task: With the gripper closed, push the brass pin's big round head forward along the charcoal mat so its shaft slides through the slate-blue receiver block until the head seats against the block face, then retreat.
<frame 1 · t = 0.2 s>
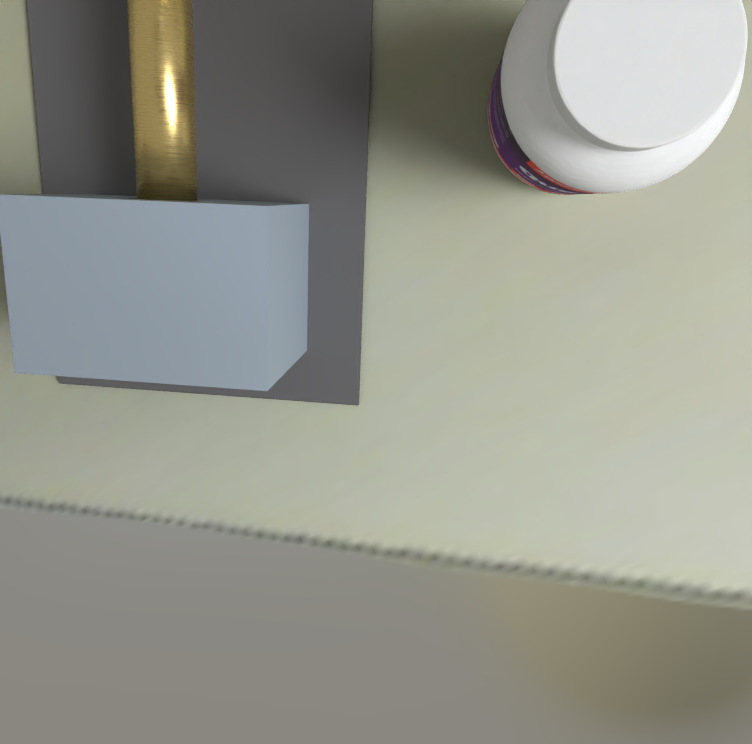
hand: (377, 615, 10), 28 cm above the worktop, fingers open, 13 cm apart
receiver: (203, 272, 38), resting on mat
mat: (200, 140, 36), on the worktop
pin: (163, 89, 31), point 5 cm above the worktop, slide at 0.0 cm
pill bottle: (568, 111, 34), on the worktop
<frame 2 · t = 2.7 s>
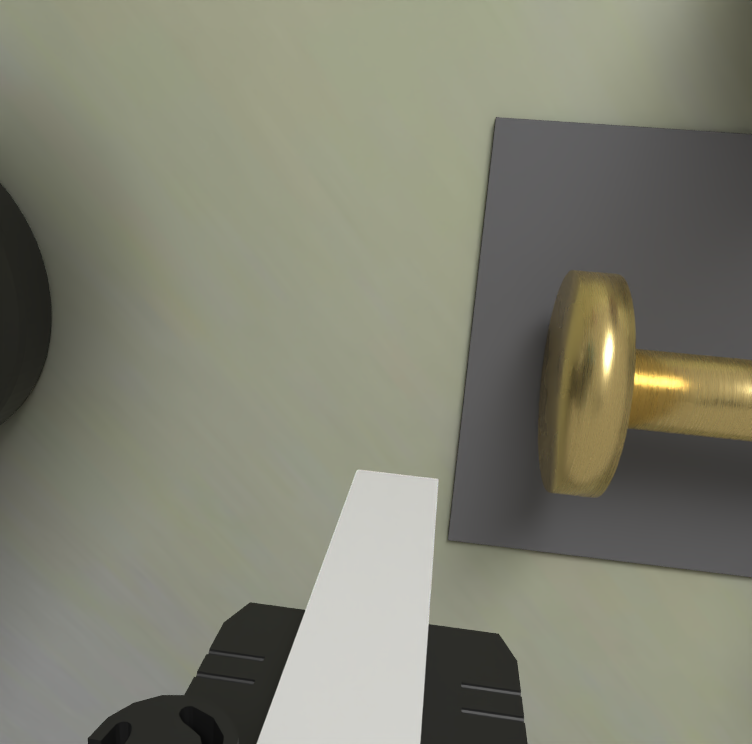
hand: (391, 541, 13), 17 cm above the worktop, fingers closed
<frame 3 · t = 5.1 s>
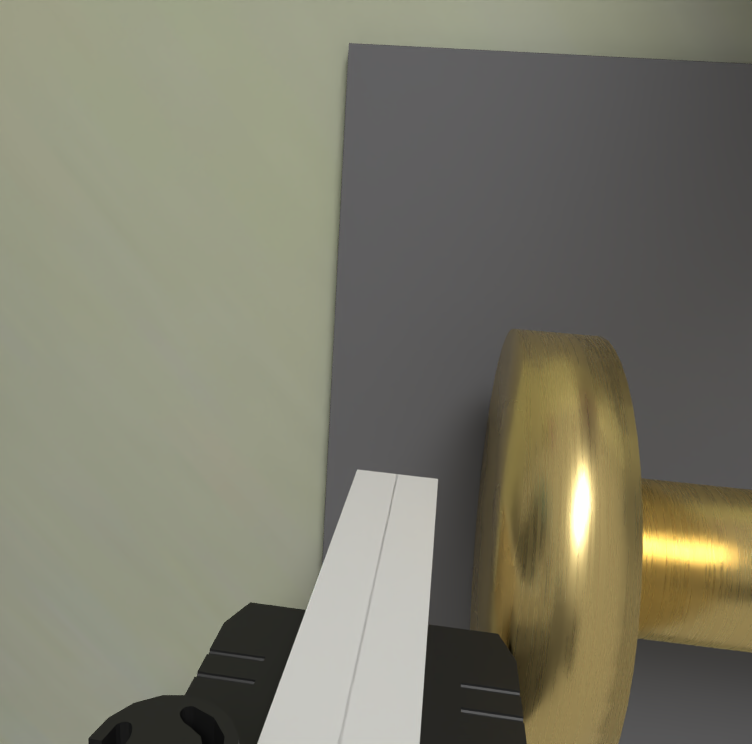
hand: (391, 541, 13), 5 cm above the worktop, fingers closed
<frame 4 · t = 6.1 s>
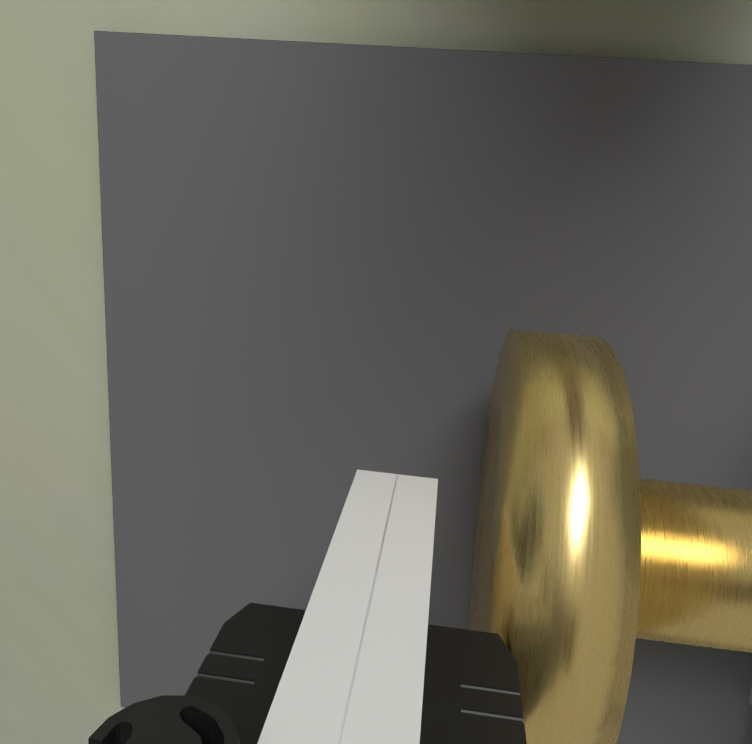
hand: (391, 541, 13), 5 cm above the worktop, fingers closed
mat: (667, 468, 16), on the worktop
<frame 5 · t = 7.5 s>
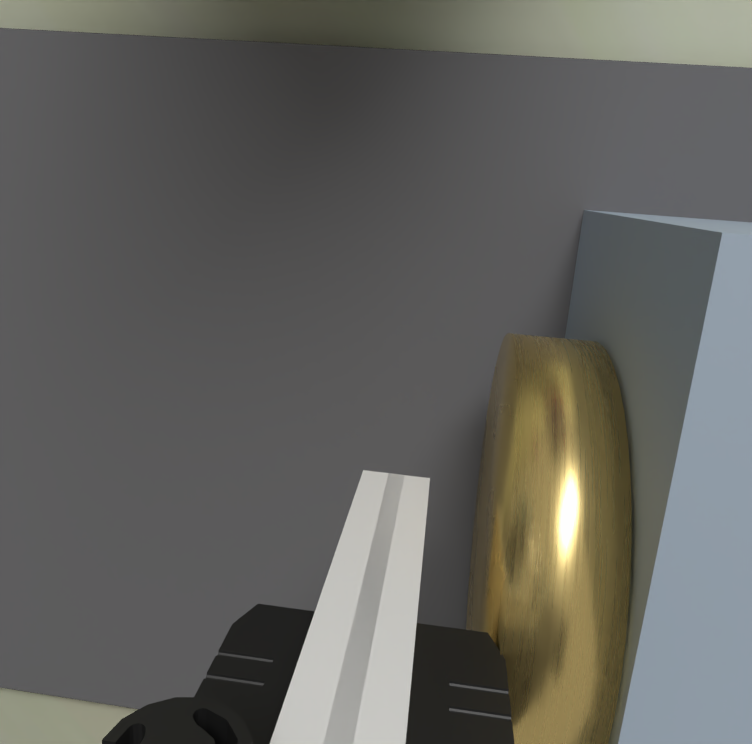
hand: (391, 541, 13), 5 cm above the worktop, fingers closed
receiver: (714, 479, 16), resting on mat
mat: (422, 446, 17), on the worktop
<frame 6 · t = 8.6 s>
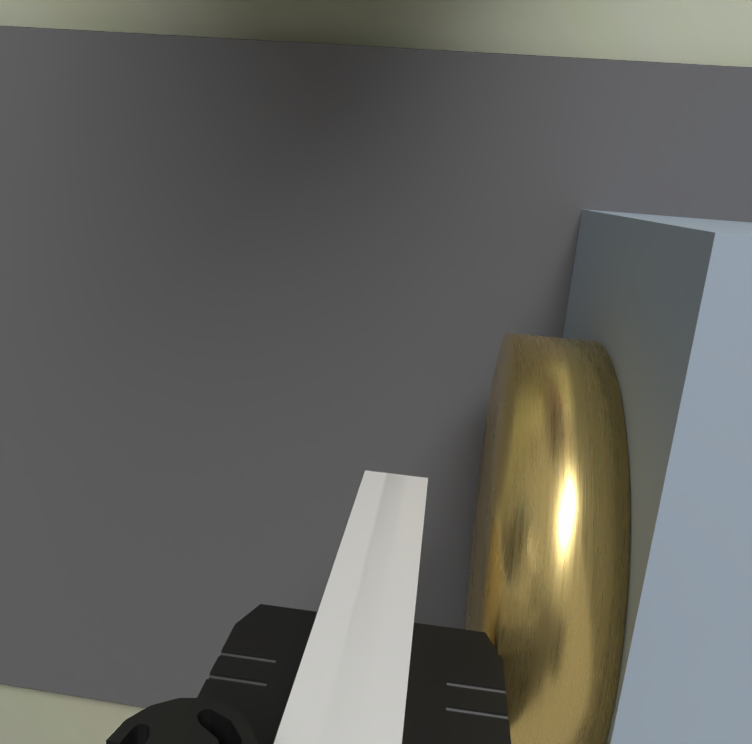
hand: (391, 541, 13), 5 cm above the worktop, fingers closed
receiver: (711, 479, 16), resting on mat
mat: (420, 445, 17), on the worktop
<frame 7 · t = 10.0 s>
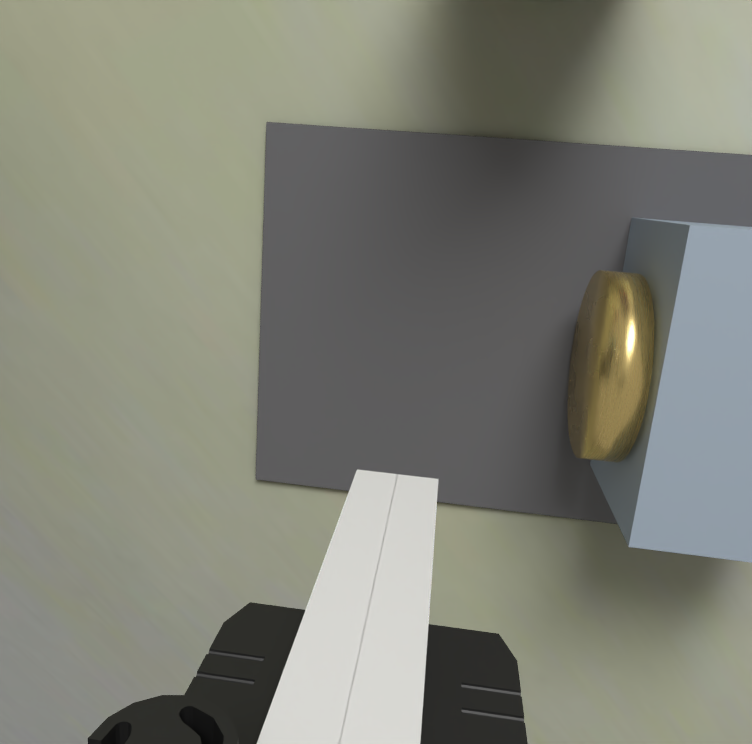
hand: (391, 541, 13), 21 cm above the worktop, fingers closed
receiver: (695, 354, 32), resting on mat
mat: (544, 339, 33), on the worktop
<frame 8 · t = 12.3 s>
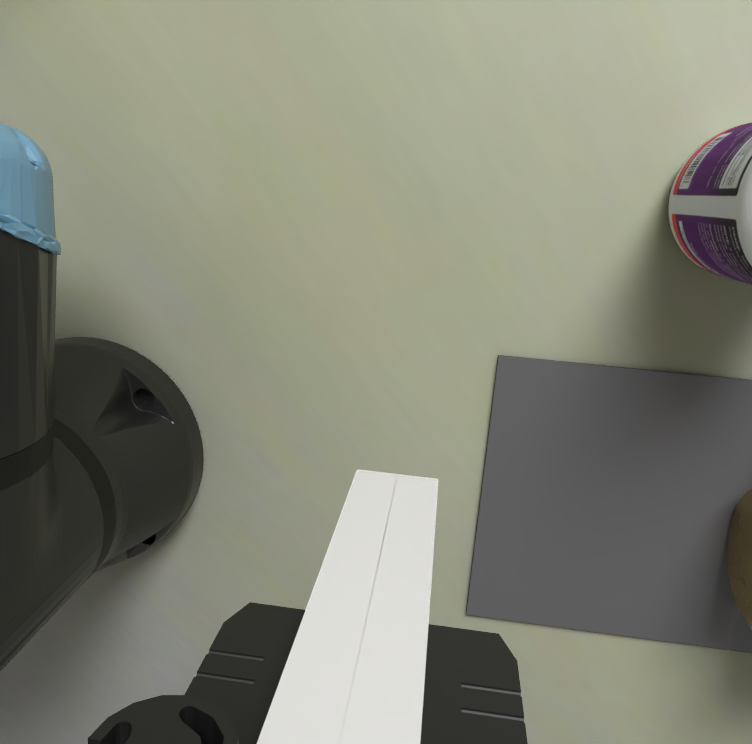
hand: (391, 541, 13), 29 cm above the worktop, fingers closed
mat: (706, 516, 42), on the worktop
pill bottle: (737, 201, 38), on the worktop
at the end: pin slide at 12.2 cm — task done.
